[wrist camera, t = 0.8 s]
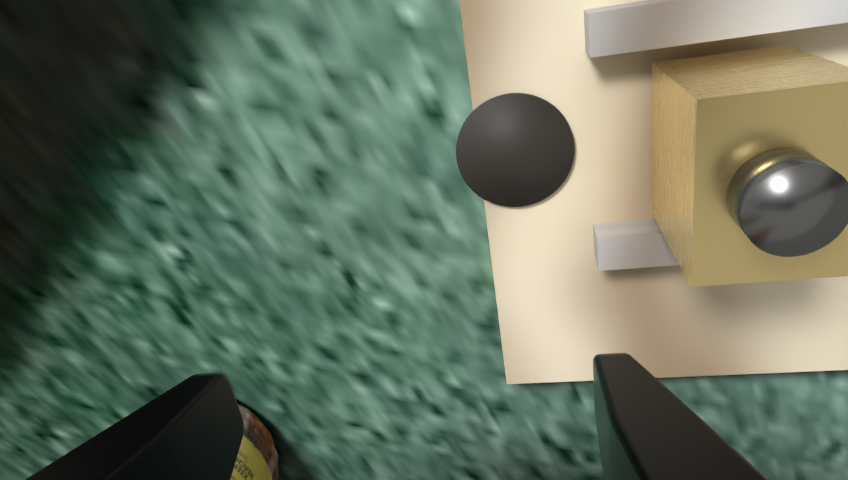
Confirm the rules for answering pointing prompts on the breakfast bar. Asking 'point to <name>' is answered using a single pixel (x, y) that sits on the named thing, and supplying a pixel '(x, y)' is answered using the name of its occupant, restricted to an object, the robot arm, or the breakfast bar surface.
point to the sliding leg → (751, 165)
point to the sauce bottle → (255, 451)
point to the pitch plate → (621, 190)
